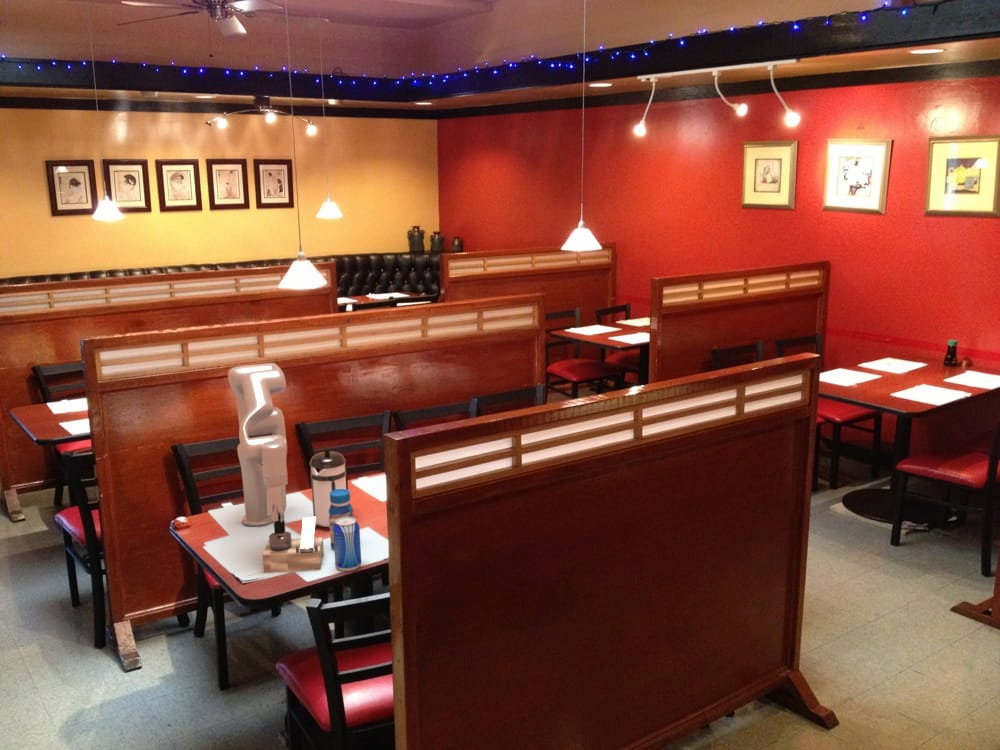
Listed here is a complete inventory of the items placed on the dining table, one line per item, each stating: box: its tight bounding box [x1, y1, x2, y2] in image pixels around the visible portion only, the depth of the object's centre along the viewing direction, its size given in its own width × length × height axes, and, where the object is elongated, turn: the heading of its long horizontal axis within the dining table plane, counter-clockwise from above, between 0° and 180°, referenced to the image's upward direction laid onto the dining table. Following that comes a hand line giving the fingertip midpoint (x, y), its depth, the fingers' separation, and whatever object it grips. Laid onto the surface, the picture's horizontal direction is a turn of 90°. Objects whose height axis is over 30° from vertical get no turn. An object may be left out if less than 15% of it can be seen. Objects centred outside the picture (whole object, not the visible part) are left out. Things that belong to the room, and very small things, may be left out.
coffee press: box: [309, 446, 349, 529], centre depth 308 cm, size 17×16×30 cm
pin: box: [268, 530, 292, 551], centre depth 277 cm, size 7×7×10 cm
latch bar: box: [300, 516, 316, 553], centre depth 277 cm, size 14×4×2 cm
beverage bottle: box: [329, 489, 355, 550], centre depth 289 cm, size 8×8×20 cm
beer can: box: [333, 517, 362, 572], centre depth 274 cm, size 8×8×16 cm
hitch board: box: [262, 536, 325, 574], centre depth 278 cm, size 12×18×8 cm, turn 96°
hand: (279, 532), depth 276 cm, fingers closed
